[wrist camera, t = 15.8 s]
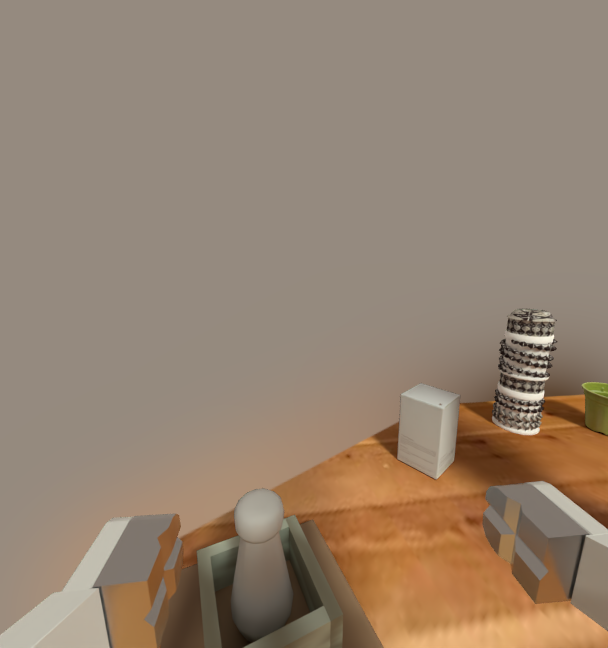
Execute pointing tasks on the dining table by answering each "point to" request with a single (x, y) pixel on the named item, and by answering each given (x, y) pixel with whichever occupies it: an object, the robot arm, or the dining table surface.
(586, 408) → the plant pot
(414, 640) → the dining table surface
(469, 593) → the dining table surface
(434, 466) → the supplement box
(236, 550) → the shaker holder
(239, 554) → the salt shaker
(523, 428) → the decorative candle
